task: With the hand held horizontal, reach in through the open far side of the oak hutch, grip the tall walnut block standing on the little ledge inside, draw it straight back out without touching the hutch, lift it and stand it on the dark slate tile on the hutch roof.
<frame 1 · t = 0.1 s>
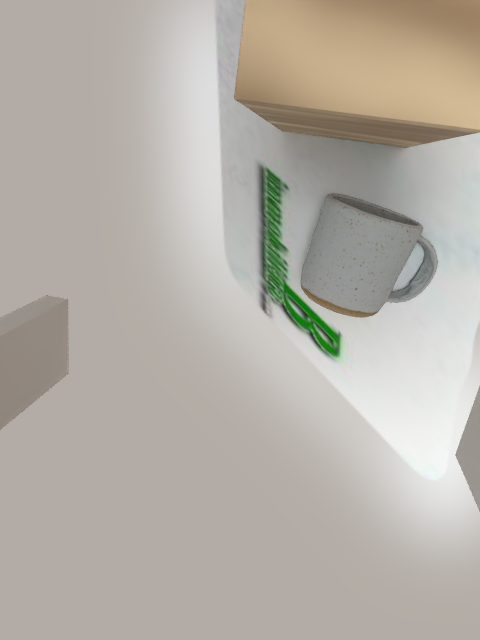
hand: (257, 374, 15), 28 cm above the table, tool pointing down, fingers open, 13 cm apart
ceramic mug: (369, 249, 40), on the table
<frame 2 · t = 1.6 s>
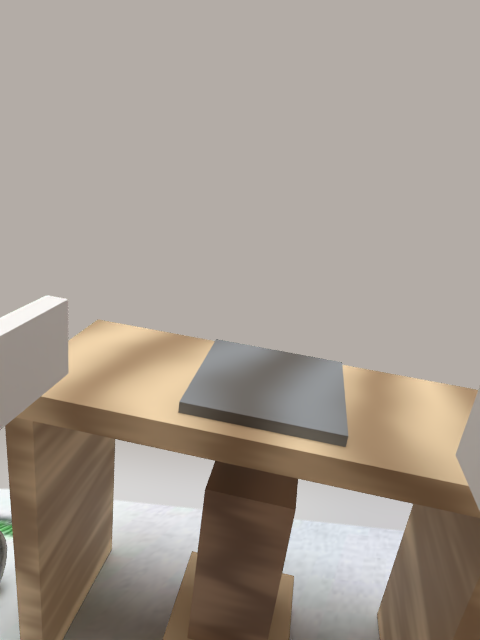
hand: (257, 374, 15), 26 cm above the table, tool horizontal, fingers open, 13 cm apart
walnut block: (232, 611, 31), point 3 cm above the table, touching oak hutch
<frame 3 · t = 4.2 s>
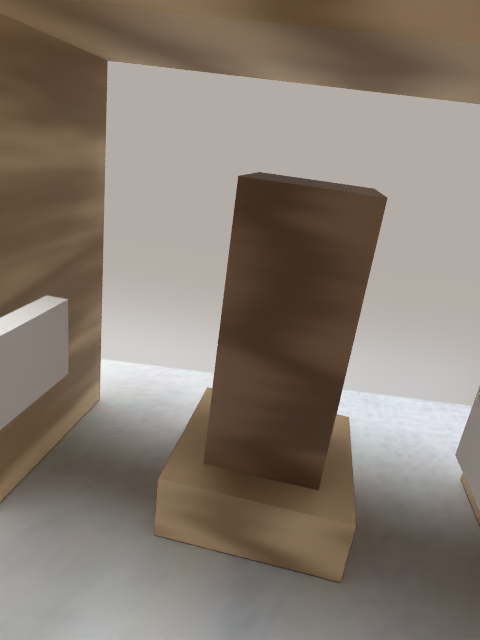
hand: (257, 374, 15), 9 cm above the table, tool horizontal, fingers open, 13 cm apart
walnut block: (267, 443, 22), point 3 cm above the table, touching oak hutch
oak hutch: (258, 493, 23), on the table
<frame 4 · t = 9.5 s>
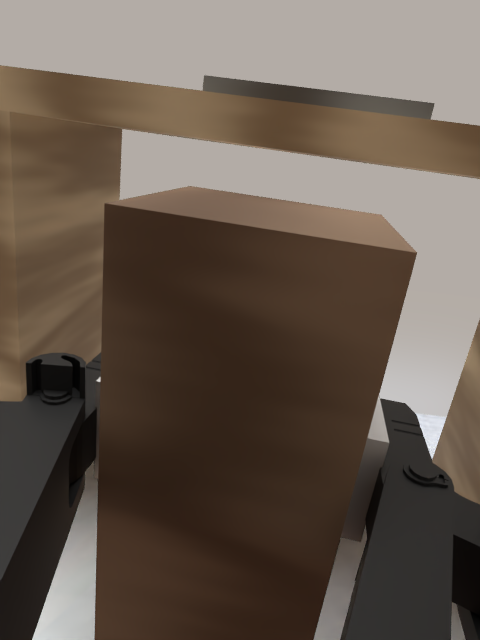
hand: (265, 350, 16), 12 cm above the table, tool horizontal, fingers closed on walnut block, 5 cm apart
walnut block: (211, 615, 14), point 6 cm above the table, touching gripper
oak hutch: (249, 495, 27), on the table
when the fingers open (29 cm above the table, at t = 12.7 s): walnut block drops 1 cm, resting on oak hutch.
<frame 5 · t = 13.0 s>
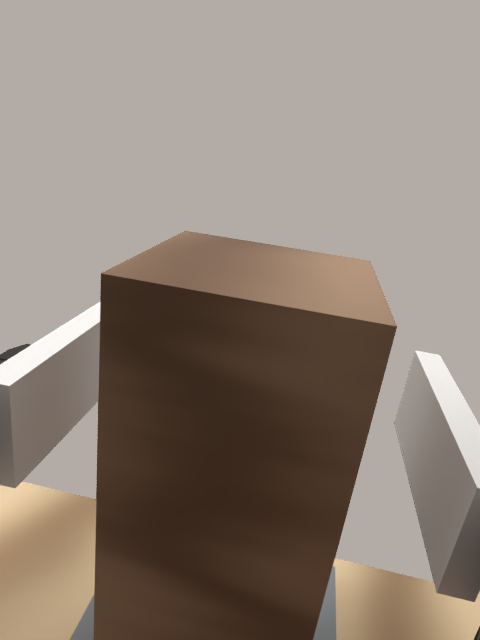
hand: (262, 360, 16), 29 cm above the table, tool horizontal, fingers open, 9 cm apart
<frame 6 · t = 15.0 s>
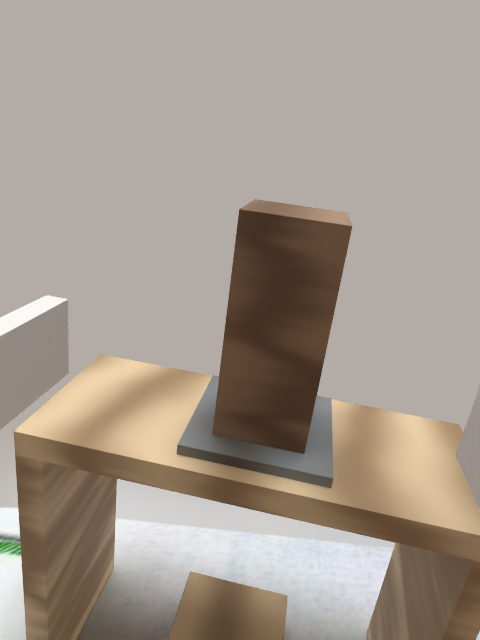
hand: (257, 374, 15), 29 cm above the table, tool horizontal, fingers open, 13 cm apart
walnut block: (263, 419, 27), point 21 cm above the table, touching oak hutch
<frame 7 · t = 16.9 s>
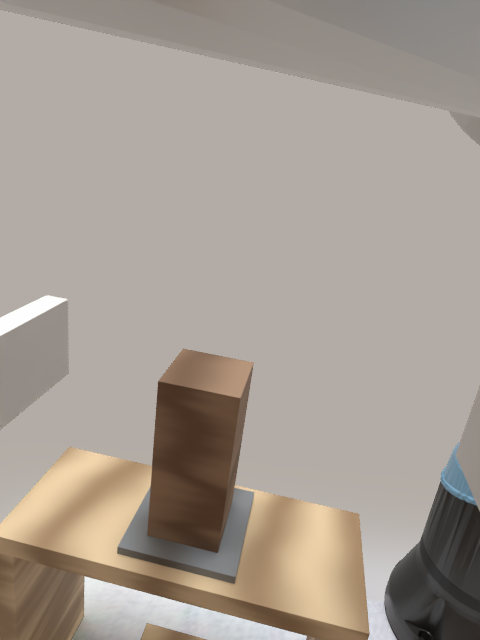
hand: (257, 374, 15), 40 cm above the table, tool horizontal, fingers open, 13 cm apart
walnut block: (192, 517, 33), point 21 cm above the table, touching oak hutch
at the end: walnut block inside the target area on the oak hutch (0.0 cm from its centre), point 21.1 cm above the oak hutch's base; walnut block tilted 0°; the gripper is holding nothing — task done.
